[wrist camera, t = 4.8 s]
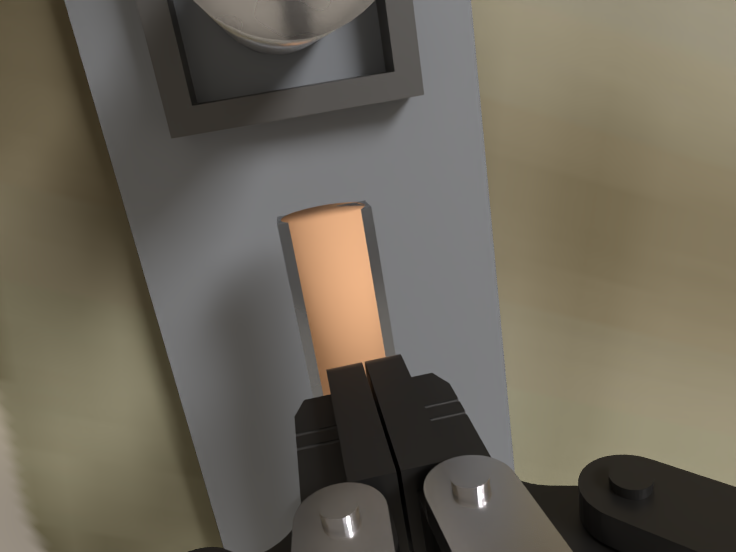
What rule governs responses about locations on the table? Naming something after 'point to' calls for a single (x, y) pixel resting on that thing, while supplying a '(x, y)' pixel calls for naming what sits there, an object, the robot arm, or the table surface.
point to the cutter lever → (336, 287)
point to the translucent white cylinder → (281, 21)
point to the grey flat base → (290, 194)
